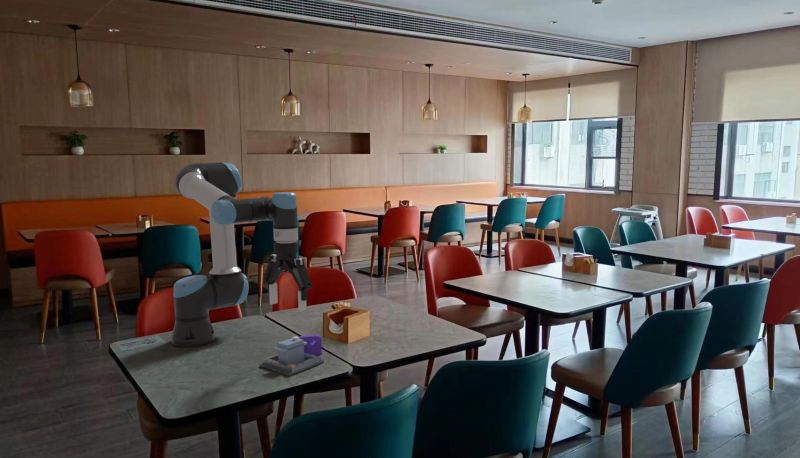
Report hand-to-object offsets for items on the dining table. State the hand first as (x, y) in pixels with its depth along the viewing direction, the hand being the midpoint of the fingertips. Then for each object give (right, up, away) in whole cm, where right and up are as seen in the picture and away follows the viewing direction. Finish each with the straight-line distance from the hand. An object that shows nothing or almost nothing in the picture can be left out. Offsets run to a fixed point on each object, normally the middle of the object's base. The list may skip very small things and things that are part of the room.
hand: (287, 307), depth 193 cm
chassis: (+1, -19, +1) cm, 19 cm away
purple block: (+5, -18, +16) cm, 24 cm away
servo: (+1, -18, +1) cm, 18 cm away
